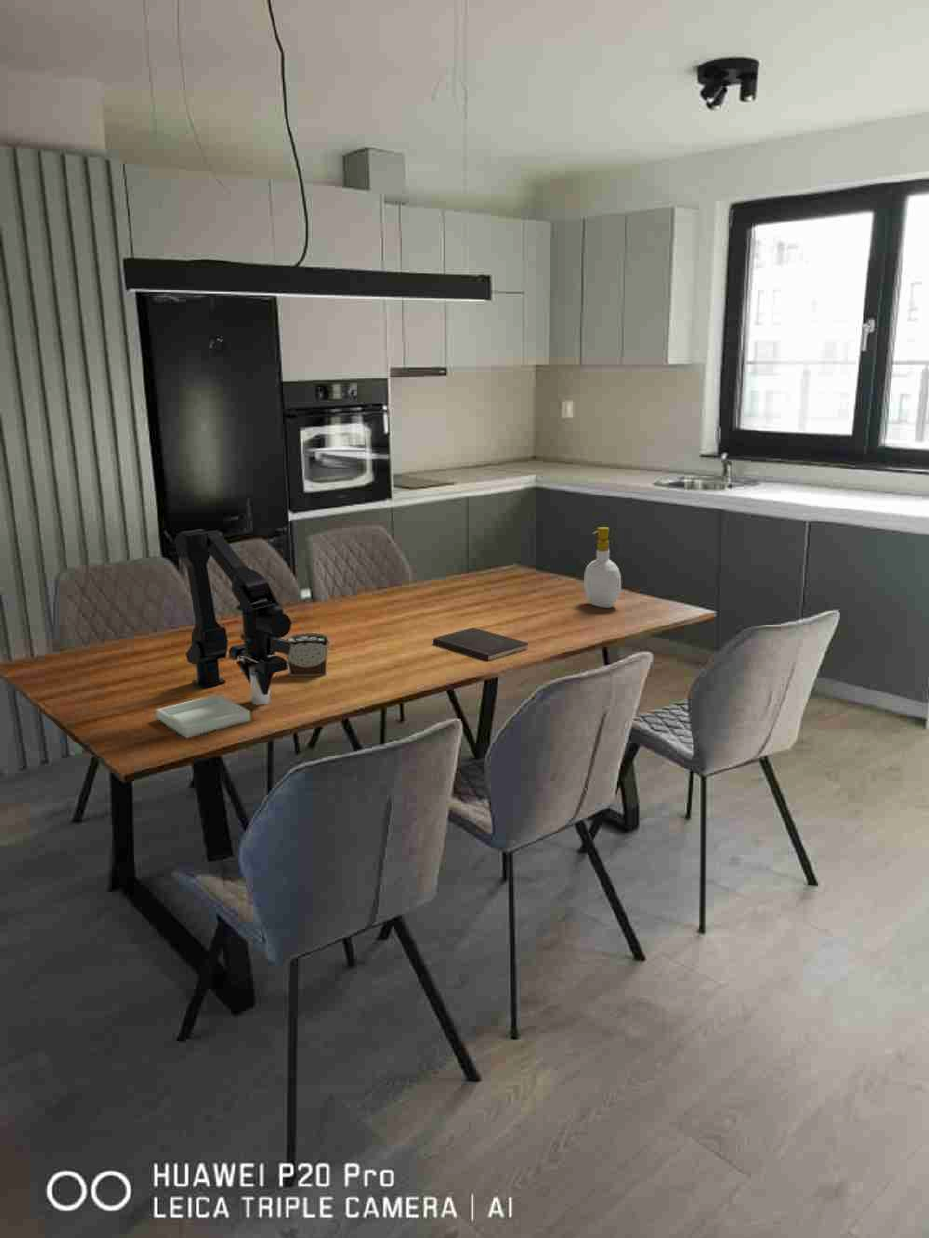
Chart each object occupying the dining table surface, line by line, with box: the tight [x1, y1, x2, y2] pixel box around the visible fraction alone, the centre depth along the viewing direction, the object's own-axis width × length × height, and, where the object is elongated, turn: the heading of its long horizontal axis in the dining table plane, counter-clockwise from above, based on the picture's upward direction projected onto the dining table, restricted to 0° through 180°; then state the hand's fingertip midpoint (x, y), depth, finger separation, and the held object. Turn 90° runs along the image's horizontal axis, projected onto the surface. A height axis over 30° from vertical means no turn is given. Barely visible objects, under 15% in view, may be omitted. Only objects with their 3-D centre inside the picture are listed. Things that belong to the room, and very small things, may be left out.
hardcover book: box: [432, 627, 529, 662], centre depth 276 cm, size 16×23×2 cm
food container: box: [284, 632, 331, 677], centre depth 255 cm, size 12×6×10 cm, turn 92°
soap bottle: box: [583, 526, 622, 609], centre depth 314 cm, size 14×9×26 cm, turn 40°
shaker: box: [249, 664, 271, 706], centre depth 234 cm, size 5×5×9 cm
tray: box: [156, 693, 251, 739], centre depth 223 cm, size 16×16×2 cm
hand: (260, 691), depth 234 cm, fingers open, 5 cm apart
